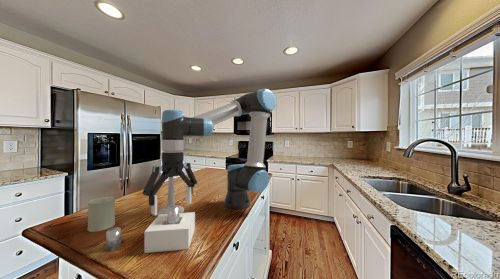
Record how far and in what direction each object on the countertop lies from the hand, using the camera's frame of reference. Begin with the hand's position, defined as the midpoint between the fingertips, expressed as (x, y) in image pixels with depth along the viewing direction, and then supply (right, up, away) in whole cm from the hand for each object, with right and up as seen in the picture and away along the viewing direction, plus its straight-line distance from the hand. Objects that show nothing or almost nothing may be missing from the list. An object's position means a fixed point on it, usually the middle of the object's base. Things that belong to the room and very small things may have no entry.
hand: (172, 208), depth 67 cm
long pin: (0, -12, 0) cm, 12 cm away
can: (-35, -12, +10) cm, 38 cm away
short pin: (-18, -12, -5) cm, 22 cm away
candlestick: (-12, -12, +26) cm, 31 cm away
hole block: (0, -12, 0) cm, 12 cm away
